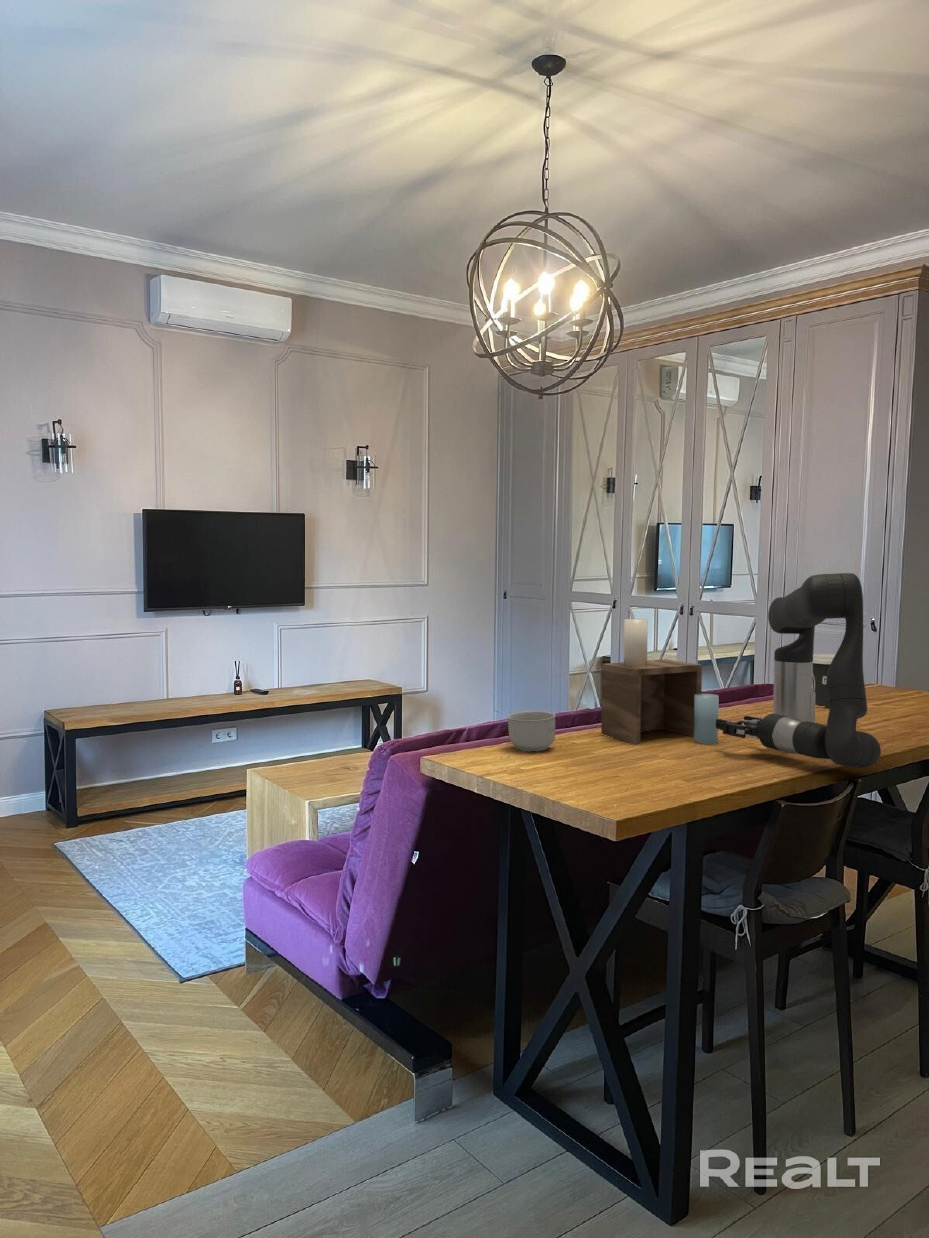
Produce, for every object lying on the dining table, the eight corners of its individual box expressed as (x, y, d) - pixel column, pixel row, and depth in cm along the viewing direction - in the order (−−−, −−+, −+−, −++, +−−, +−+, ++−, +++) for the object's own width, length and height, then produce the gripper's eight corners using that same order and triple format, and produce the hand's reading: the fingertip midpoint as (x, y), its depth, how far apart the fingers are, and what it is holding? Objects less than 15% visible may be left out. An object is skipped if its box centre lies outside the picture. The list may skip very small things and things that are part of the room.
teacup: (559, 753, 200) (559, 718, 200) (510, 754, 200) (510, 718, 199) (548, 741, 214) (549, 707, 214) (503, 742, 213) (503, 708, 213)
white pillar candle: (643, 663, 220) (644, 618, 219) (649, 666, 214) (650, 620, 214) (621, 664, 220) (621, 618, 219) (626, 666, 214) (627, 620, 213)
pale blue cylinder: (713, 739, 216) (714, 693, 215) (721, 744, 210) (722, 697, 210) (690, 739, 216) (691, 693, 215) (697, 744, 210) (698, 697, 209)
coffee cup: (812, 708, 260) (813, 656, 259) (805, 703, 269) (806, 653, 268) (847, 709, 258) (848, 657, 257) (839, 704, 267) (840, 653, 266)
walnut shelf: (665, 727, 231) (666, 659, 230) (700, 736, 219) (701, 664, 218) (601, 734, 221) (602, 663, 220) (635, 744, 210) (636, 669, 209)
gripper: (811, 713, 195) (754, 703, 209) (762, 719, 188) (707, 708, 202) (810, 748, 195) (753, 735, 209) (762, 755, 188) (706, 741, 203)
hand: (730, 721), depth 206 cm, fingers open, 8 cm apart
